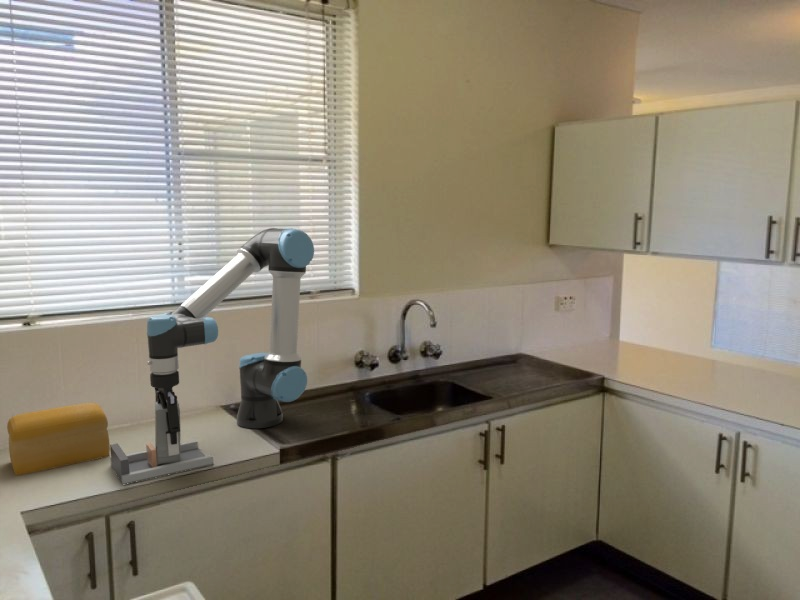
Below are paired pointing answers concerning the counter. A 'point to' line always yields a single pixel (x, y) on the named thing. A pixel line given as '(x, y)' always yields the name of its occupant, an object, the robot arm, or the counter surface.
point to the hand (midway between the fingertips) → (169, 449)
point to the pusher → (151, 455)
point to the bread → (57, 437)
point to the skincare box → (164, 436)
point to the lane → (139, 468)
